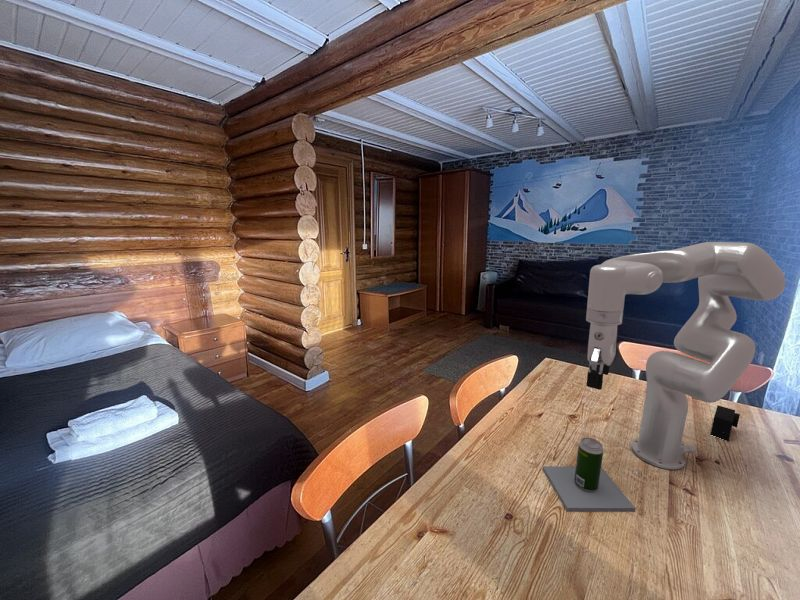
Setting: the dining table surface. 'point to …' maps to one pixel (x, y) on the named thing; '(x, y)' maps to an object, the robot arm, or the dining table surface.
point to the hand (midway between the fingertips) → (597, 380)
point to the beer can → (588, 464)
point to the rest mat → (582, 501)
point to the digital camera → (724, 422)
